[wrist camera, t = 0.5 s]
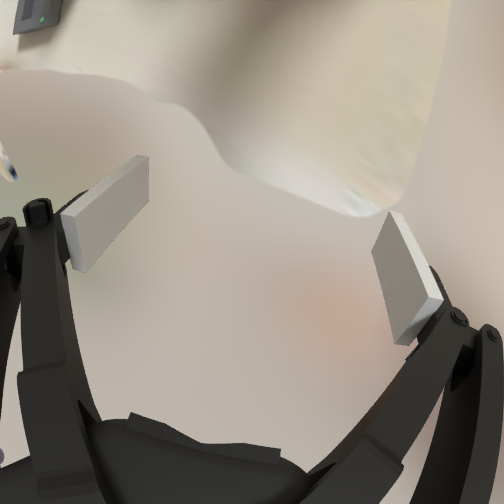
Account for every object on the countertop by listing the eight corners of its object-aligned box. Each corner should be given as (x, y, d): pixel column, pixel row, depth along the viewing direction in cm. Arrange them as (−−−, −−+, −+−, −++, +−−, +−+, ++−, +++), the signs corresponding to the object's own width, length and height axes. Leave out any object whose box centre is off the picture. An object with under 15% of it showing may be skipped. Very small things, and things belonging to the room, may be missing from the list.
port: (34, -20, 22) (22, -21, 20) (70, -34, 22) (58, -36, 20) (23, 33, 30) (11, 34, 27) (57, 24, 29) (45, 24, 27)
